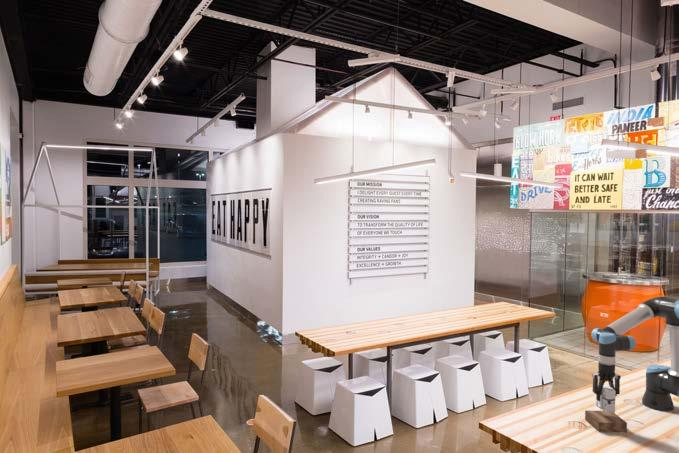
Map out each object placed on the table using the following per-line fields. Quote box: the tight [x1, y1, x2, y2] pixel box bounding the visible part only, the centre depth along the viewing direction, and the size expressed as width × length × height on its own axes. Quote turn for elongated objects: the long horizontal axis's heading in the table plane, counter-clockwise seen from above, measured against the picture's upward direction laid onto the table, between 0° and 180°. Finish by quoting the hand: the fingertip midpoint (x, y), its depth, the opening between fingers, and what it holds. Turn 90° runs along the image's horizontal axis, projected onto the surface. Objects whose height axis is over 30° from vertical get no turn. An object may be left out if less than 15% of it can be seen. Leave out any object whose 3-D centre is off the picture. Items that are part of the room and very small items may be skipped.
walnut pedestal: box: [584, 410, 628, 433], centre depth 241 cm, size 14×14×5 cm
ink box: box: [595, 383, 616, 414], centre depth 241 cm, size 8×5×12 cm, turn 5°
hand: (605, 406), depth 241 cm, fingers closed on ink box, 5 cm apart
